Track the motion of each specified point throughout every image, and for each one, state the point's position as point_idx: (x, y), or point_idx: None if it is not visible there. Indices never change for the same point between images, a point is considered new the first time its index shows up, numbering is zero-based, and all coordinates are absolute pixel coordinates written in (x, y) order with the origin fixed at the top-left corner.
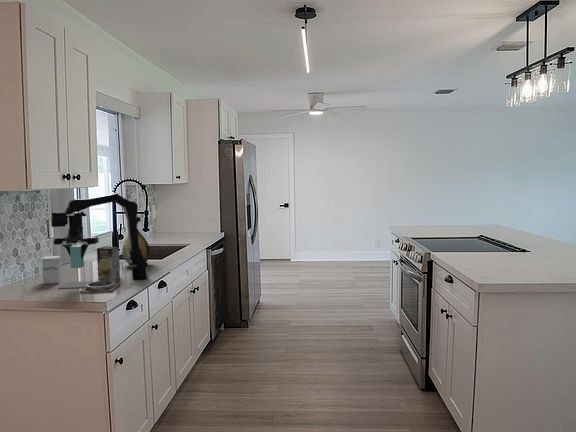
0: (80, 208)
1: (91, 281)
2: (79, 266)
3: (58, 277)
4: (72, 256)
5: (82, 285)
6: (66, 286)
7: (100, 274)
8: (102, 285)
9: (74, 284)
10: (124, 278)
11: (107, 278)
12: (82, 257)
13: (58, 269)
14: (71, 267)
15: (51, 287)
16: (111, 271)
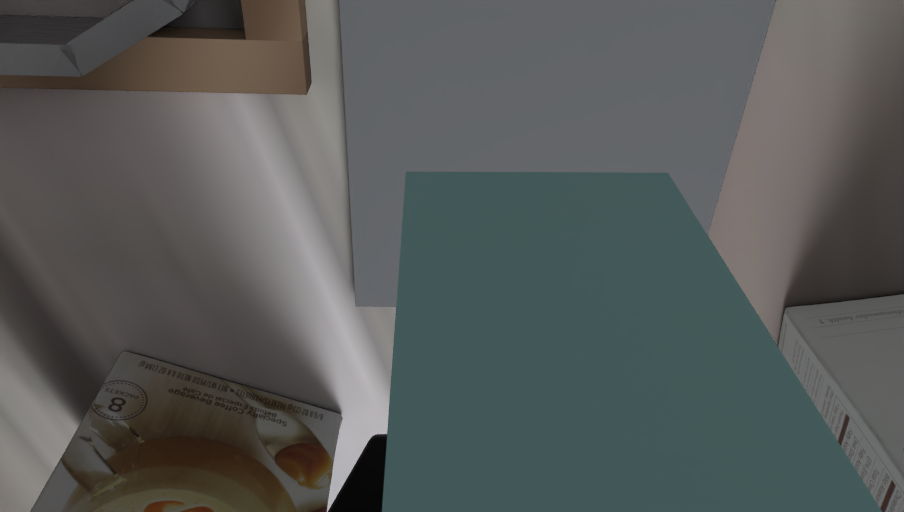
0: None
1: (363, 287)
2: (442, 189)
3: (823, 355)
4: (733, 414)
5: (414, 66)
6: (659, 36)
7: (291, 449)
8: (68, 21)
9: (559, 153)
10: (17, 412)
11: (196, 384)
12: (368, 459)
13: (882, 452)
14: (656, 181)
15: (878, 83)
16: (83, 444)
